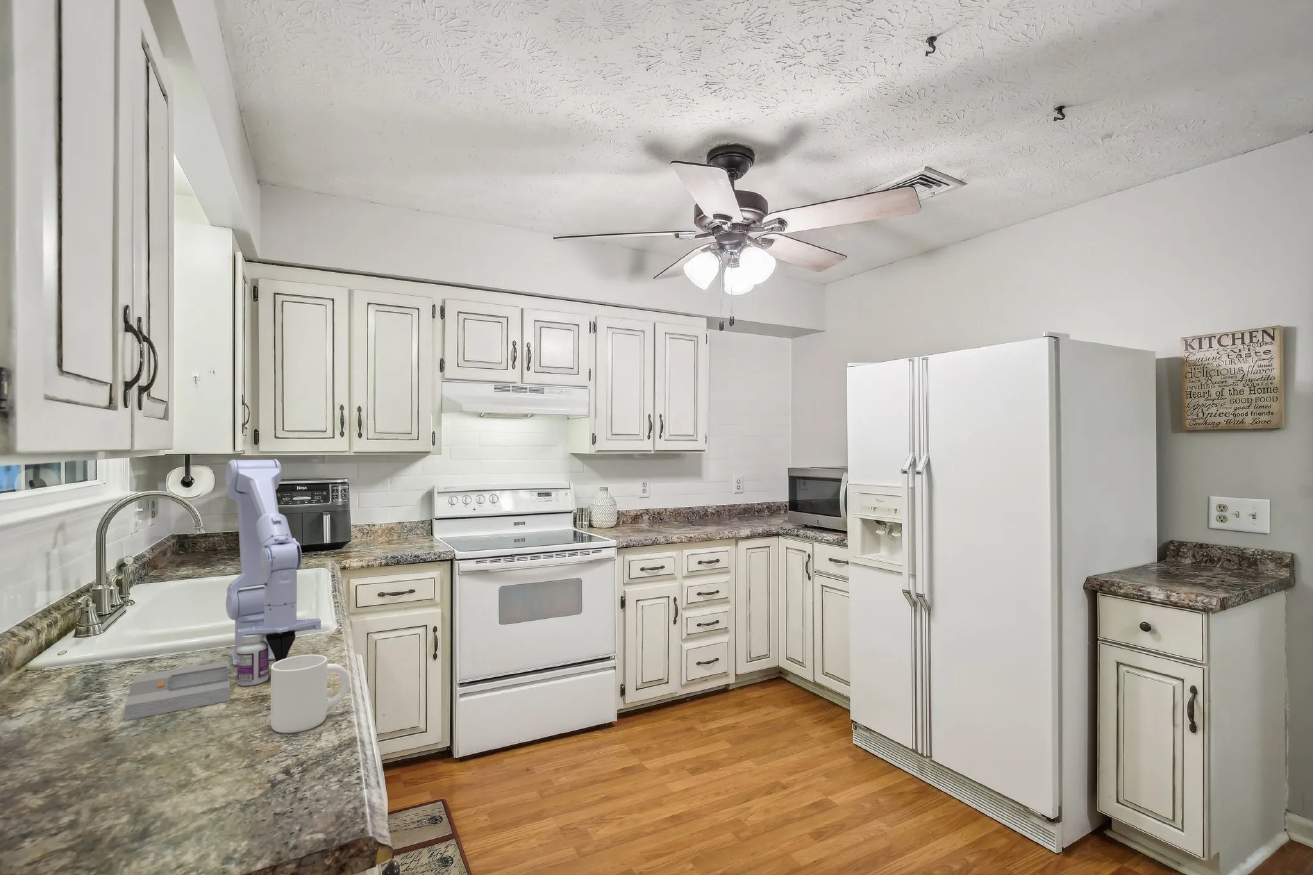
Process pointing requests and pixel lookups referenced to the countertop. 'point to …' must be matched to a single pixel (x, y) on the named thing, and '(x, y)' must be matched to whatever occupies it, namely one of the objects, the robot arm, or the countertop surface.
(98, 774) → the countertop surface
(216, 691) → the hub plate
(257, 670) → the pill bottle
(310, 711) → the mug
